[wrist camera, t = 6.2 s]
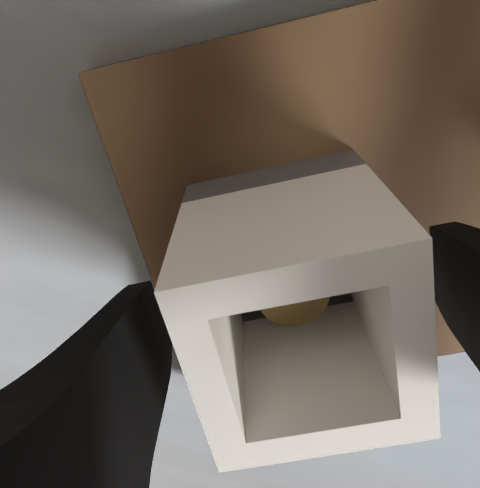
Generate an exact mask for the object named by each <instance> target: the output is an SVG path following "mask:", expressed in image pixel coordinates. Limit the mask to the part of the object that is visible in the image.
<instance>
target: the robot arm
mask: <svg viewBox="0 0 480 488" xmlns="http://www.w3.org/2000/svg"><path fill="white" fill-rule="evenodd" d="M429 233H430V236H431V237H432V244H433V269H434V294H435V302H436V304H437V306H438V308H439V310H440V312H441V314H442V316H443V318H444V320H445V322H446V324H447V326H448V327H449V329H450V330H451V332H452V333H453V335H454V336H455V337H456V339H457V340H458V342H459V343H460V345H461V346H462V347H463V349H464V350H465V352H466V353H467V354H468V356H469V357H470V359H471V360H472V361H473V363H474V364H475V366H476V367H477V368H478V370H479V371H480V229H479V228H476V227H473V226H470V225H467V224H463V223H459V222H455V221H454V222H449V223H444V224H439V225H434V226H429ZM171 362H172V341H171V339H170V336H169V333H168V330H167V328H166V325H165V322H164V319H163V316H162V314H161V311H160V308H159V305H158V303H157V300H156V297H155V294H154V289H153V286H152V283H151V281H147V282H142V283H137V284H132V285H128V286H127V287H125V288H124V289H123V290H121V291H120V292H119V293H118V294H117V295H116V296H115V297H113V298H112V299H111V300H110V301H109V302H108V303H107V304H106V305H105V306H104V307H103V308H102V309H101V310H100V311H98V312H97V313H96V314H95V315H94V316H93V317H92V318H91V319H90V320H89V321H88V322H87V323H86V324H84V325H83V326H82V327H81V328H80V329H79V330H78V331H77V332H75V333H74V334H73V335H72V336H71V337H70V338H68V339H67V340H66V341H65V342H64V343H63V344H61V345H60V346H59V347H58V348H57V349H56V350H55V351H53V352H52V353H51V354H50V355H48V356H47V357H46V358H45V359H43V360H42V361H41V362H39V363H38V364H37V365H36V366H34V367H33V368H31V369H30V370H29V371H27V372H26V373H25V374H23V375H22V376H20V377H19V378H18V379H16V380H15V381H13V382H12V383H10V384H9V385H7V386H6V387H4V388H3V389H1V390H0V488H149V483H150V474H151V467H152V461H153V455H154V450H155V445H156V441H157V436H158V431H159V427H160V422H161V418H162V413H163V409H164V404H165V399H166V395H167V390H168V385H169V380H170V374H171Z"/></svg>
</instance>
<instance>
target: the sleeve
mask: <svg viewBox="0 0 480 488" xmlns="http://www.w3.org/2000/svg"><path fill="white" fill-rule="evenodd" d="M154 294H155V297H156V300H157V303H158V305H159V308H160V311H161V314H162V316H163V319H164V322H165V325H166V328H167V330H168V333H169V336H170V339H171V341H172V344H173V347H174V350H175V352H176V355H177V358H178V361H179V363H180V366H181V369H182V372H183V374H184V377H185V380H186V383H187V385H188V388H189V391H190V394H191V396H192V399H193V402H194V405H195V407H196V410H197V413H198V416H199V418H200V421H201V424H202V427H203V429H204V432H205V435H206V438H207V440H208V443H209V446H210V449H211V451H212V454H213V457H214V460H215V463H216V465H217V468H218V471H219V473H220V472H226V471H233V470H239V469H246V468H252V467H259V466H265V465H272V464H278V463H285V462H291V461H298V460H304V459H311V458H317V457H323V456H330V455H336V454H343V453H349V452H356V451H362V450H369V449H375V448H382V447H388V446H395V445H401V444H408V443H414V442H421V441H427V440H434V439H440V418H439V393H438V368H437V343H436V318H435V294H434V269H433V244H432V237H431V236H430V235H429V234H428V233H427V232H426V230H425V229H424V228H423V227H422V226H421V225H420V224H419V223H418V221H417V220H416V219H415V218H414V217H413V216H412V215H411V214H410V212H409V211H408V210H407V209H406V208H405V207H404V206H403V205H402V203H401V202H400V201H399V200H398V199H397V198H396V197H395V196H394V194H393V193H392V192H391V191H390V190H389V189H388V188H387V187H386V185H385V184H384V183H383V182H382V181H381V180H380V179H379V178H378V176H377V175H376V174H375V173H374V172H373V171H372V170H371V169H370V167H369V166H368V165H367V164H366V163H365V162H364V161H363V160H362V158H361V157H360V156H359V155H358V154H357V153H356V152H355V151H354V149H351V150H347V151H342V152H338V153H333V154H328V155H324V156H319V157H315V158H310V159H305V160H301V161H296V162H292V163H287V164H282V165H278V166H273V167H269V168H264V169H259V170H255V171H250V172H245V173H241V174H236V175H232V176H227V177H222V178H218V179H213V180H209V181H204V182H199V183H195V184H190V185H187V187H186V191H185V194H184V197H183V200H182V203H181V207H180V210H179V213H178V216H177V219H176V223H175V226H174V229H173V232H172V236H171V239H170V242H169V245H168V248H167V252H166V255H165V258H164V261H163V264H162V268H161V271H160V274H159V277H158V281H157V284H156V287H155V290H154ZM326 297H330V298H329V303H328V305H327V307H326V309H325V310H324V312H323V313H322V314H321V315H320V316H319V317H318V318H317V319H315V320H314V321H312V322H310V323H308V324H305V325H301V326H295V327H289V326H282V325H279V324H276V323H274V322H272V321H270V320H269V319H268V318H266V317H265V316H264V314H263V313H262V312H261V310H262V309H267V308H272V307H278V306H283V305H288V304H294V303H299V302H304V301H310V300H315V299H320V298H326Z"/></svg>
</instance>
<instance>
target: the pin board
mask: <svg viewBox="0 0 480 488" xmlns="http://www.w3.org/2000/svg"><path fill="white" fill-rule="evenodd" d="M78 75H79V77H80V80H81V83H82V86H83V89H84V91H85V94H86V97H87V100H88V103H89V105H90V108H91V111H92V114H93V117H94V119H95V122H96V125H97V128H98V131H99V133H100V136H101V139H102V142H103V145H104V147H105V150H106V153H107V156H108V159H109V161H110V164H111V167H112V170H113V173H114V175H115V178H116V181H117V184H118V187H119V189H120V192H121V195H122V198H123V201H124V203H125V206H126V209H127V212H128V215H129V217H130V220H131V223H132V226H133V229H134V231H135V234H136V237H137V240H138V243H139V245H140V248H141V251H142V254H143V257H144V259H145V262H146V265H147V268H148V271H149V273H150V276H151V279H152V282H153V285H154V287H156V284H157V281H158V277H159V274H160V271H161V268H162V264H163V261H164V258H165V255H166V252H167V248H168V245H169V242H170V239H171V236H172V232H173V229H174V226H175V223H176V219H177V216H178V213H179V210H180V207H181V203H182V200H183V197H184V194H185V191H186V187H187V185H190V184H195V183H199V182H204V181H209V180H213V179H218V178H222V177H227V176H232V175H236V174H241V173H245V172H250V171H255V170H259V169H264V168H269V167H273V166H278V165H282V164H287V163H292V162H296V161H301V160H305V159H310V158H315V157H319V156H324V155H328V154H333V153H338V152H342V151H347V150H351V149H354V151H355V152H356V153H357V154H358V155H359V156H360V157H361V158H362V160H363V161H364V162H365V163H366V164H367V165H368V166H369V167H370V169H371V170H372V171H373V172H374V173H375V174H376V175H377V176H378V178H379V179H380V180H381V181H382V182H383V183H384V184H385V185H386V187H387V188H388V189H389V190H390V191H391V192H392V193H393V194H394V196H395V197H396V198H397V199H398V200H399V201H400V202H401V203H402V205H403V206H404V207H405V208H406V209H407V210H408V211H409V212H410V214H411V215H412V216H413V217H414V218H415V219H416V220H417V221H418V223H419V224H420V225H421V226H422V227H423V228H424V229H425V230H426V232H427V233H428V234H429V235H430V233H429V226H434V225H439V224H444V223H449V222H454V221H455V222H459V223H463V224H467V225H470V226H473V227H476V228H479V229H480V0H373V1H369V2H365V3H361V4H357V5H353V6H349V7H345V8H341V9H337V10H333V11H328V12H324V13H320V14H316V15H312V16H308V17H304V18H300V19H296V20H292V21H288V22H283V23H279V24H275V25H271V26H267V27H263V28H259V29H255V30H251V31H247V32H243V33H238V34H234V35H230V36H226V37H222V38H218V39H214V40H210V41H206V42H202V43H198V44H193V45H189V46H185V47H181V48H177V49H173V50H169V51H165V52H161V53H157V54H153V55H148V56H144V57H140V58H136V59H132V60H128V61H124V62H120V63H116V64H112V65H107V66H103V67H99V68H95V69H91V70H88V71H85V72H82V73H79V74H78ZM329 298H330V297H326V298H320V299H315V300H310V301H304V302H299V303H294V304H288V305H283V306H278V307H272V308H267V309H262V310H261V312H262V313H263V314H264V316H265V317H266V318H268V319H269V320H270V321H272V322H274V323H276V324H279V325H282V326H289V327H295V326H301V325H305V324H308V323H310V322H312V321H314V320H315V319H317V318H318V317H319V316H320V315H321V314H322V313H323V312H324V310H325V309H326V307H327V305H328V303H329ZM435 318H436V343H437V356H442V355H448V354H454V353H460V352H465V350H464V349H463V347H462V346H461V345H460V343H459V342H458V340H457V339H456V337H455V336H454V335H453V333H452V332H451V330H450V329H449V327H448V326H447V324H446V322H445V320H444V318H443V316H442V314H441V312H440V310H439V308H438V306H437V304H436V302H435Z"/></svg>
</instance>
